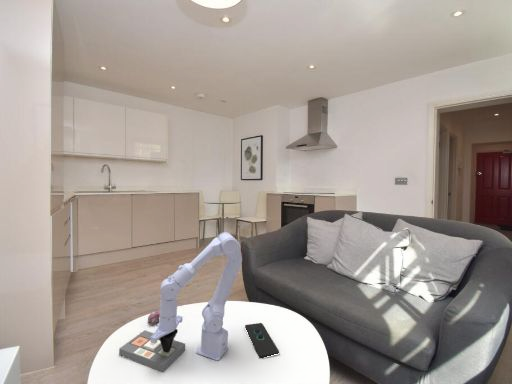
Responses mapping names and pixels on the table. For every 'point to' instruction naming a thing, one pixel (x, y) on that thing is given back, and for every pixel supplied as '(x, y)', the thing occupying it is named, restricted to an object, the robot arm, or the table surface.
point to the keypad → (151, 353)
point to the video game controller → (154, 317)
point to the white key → (152, 346)
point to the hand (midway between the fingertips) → (166, 350)
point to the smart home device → (261, 340)
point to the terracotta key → (140, 341)
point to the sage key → (166, 352)
